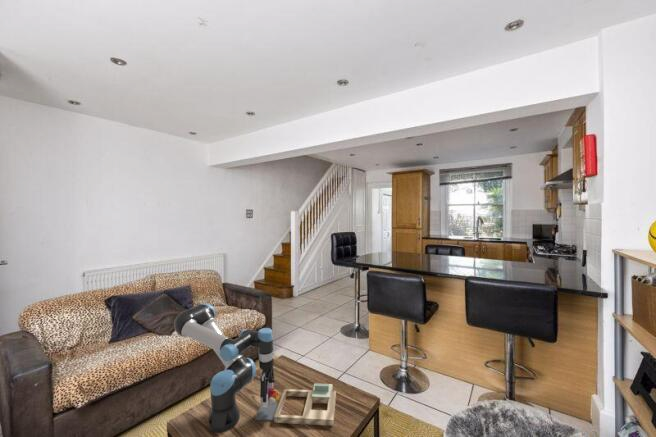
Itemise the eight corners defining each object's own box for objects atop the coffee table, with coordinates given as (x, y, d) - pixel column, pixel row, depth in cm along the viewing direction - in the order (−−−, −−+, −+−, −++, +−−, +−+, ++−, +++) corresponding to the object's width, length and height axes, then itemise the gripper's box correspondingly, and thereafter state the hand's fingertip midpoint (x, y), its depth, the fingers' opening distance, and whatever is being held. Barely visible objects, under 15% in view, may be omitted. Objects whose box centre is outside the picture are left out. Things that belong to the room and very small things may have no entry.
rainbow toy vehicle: (276, 407, 141) (275, 393, 140) (258, 406, 142) (257, 392, 141) (281, 396, 149) (280, 383, 149) (264, 395, 150) (263, 382, 150)
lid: (311, 397, 152) (311, 391, 151) (314, 384, 163) (314, 378, 162) (329, 398, 151) (329, 391, 150) (331, 385, 161) (331, 379, 161)
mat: (254, 419, 141) (254, 418, 141) (261, 404, 152) (261, 403, 152) (275, 420, 140) (275, 419, 140) (281, 405, 151) (281, 404, 151)
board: (274, 422, 139) (273, 416, 139) (287, 387, 166) (287, 382, 166) (333, 425, 136) (332, 419, 136) (336, 389, 163) (336, 384, 162)
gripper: (266, 371, 134) (268, 416, 135) (278, 348, 155) (280, 387, 156) (251, 370, 134) (254, 415, 135) (266, 348, 155) (267, 387, 156)
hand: (268, 400), depth 145 cm, fingers closed on rainbow toy vehicle, 8 cm apart
